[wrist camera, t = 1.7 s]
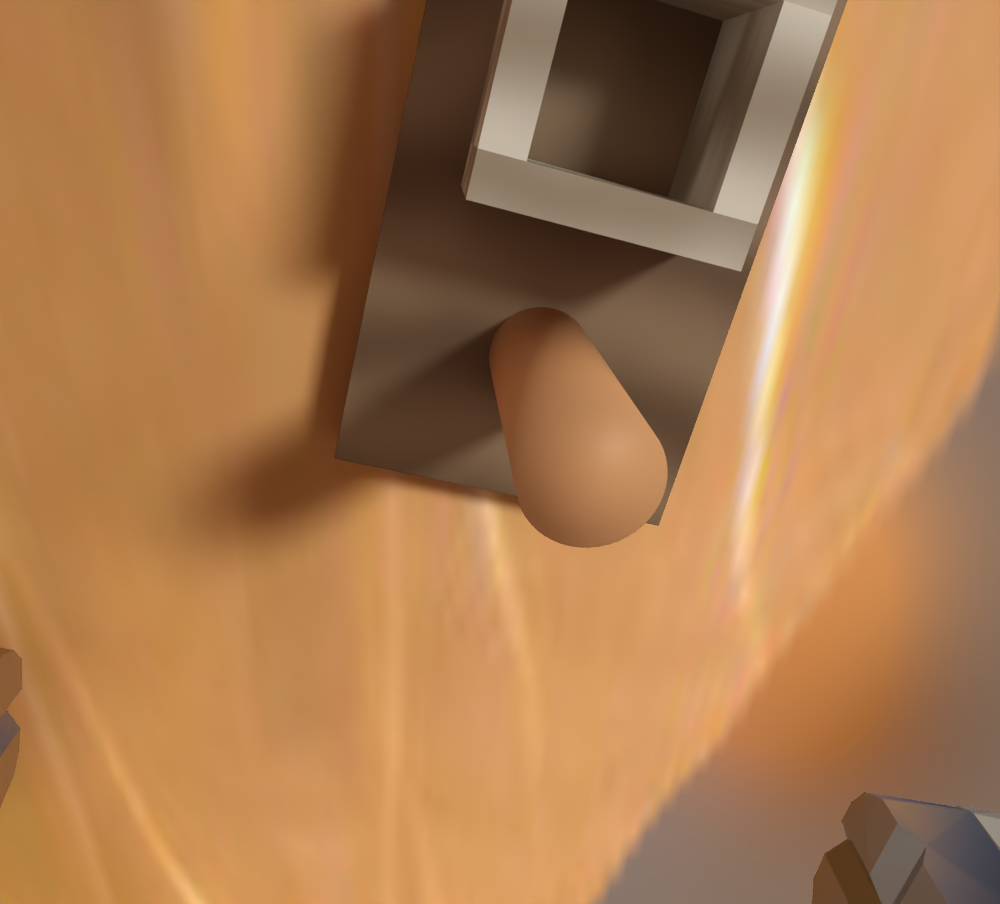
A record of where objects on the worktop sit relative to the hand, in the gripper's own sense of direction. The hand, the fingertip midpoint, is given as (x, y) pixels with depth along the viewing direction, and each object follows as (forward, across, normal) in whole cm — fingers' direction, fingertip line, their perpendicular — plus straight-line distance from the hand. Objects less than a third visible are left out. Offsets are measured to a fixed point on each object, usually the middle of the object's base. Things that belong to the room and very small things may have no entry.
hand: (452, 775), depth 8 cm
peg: (+26, -4, +2) cm, 26 cm away
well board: (+28, -4, -3) cm, 28 cm away
